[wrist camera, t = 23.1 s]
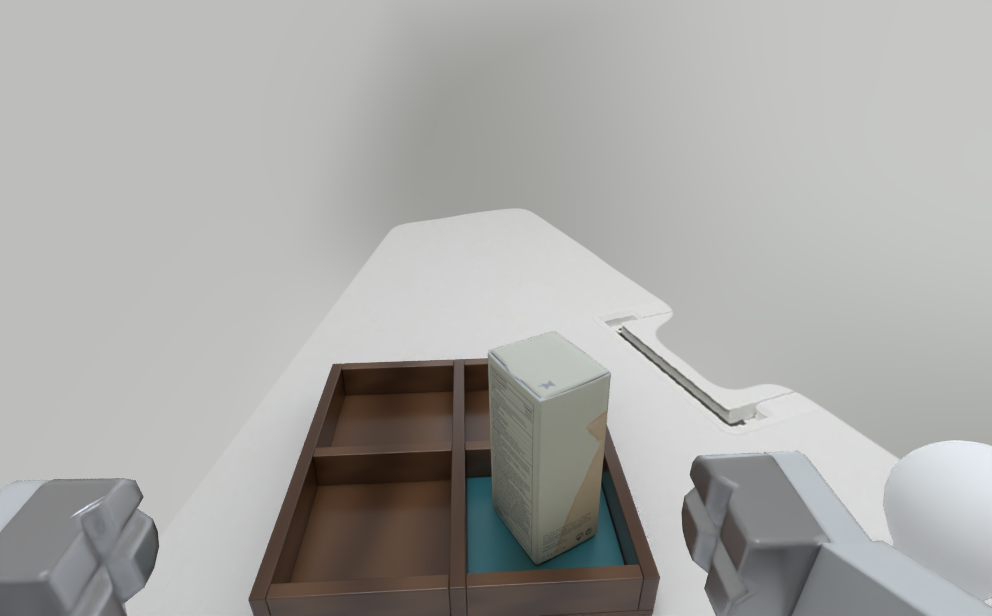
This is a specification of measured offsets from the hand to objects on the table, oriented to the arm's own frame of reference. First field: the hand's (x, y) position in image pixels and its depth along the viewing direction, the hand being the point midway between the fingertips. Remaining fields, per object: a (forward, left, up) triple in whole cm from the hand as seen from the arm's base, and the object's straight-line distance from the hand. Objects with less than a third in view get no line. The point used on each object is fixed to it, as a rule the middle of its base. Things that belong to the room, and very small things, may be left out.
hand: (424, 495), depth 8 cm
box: (+5, +17, -20) cm, 26 cm away
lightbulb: (+22, +9, -21) cm, 32 cm away
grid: (0, +21, -21) cm, 29 cm away
